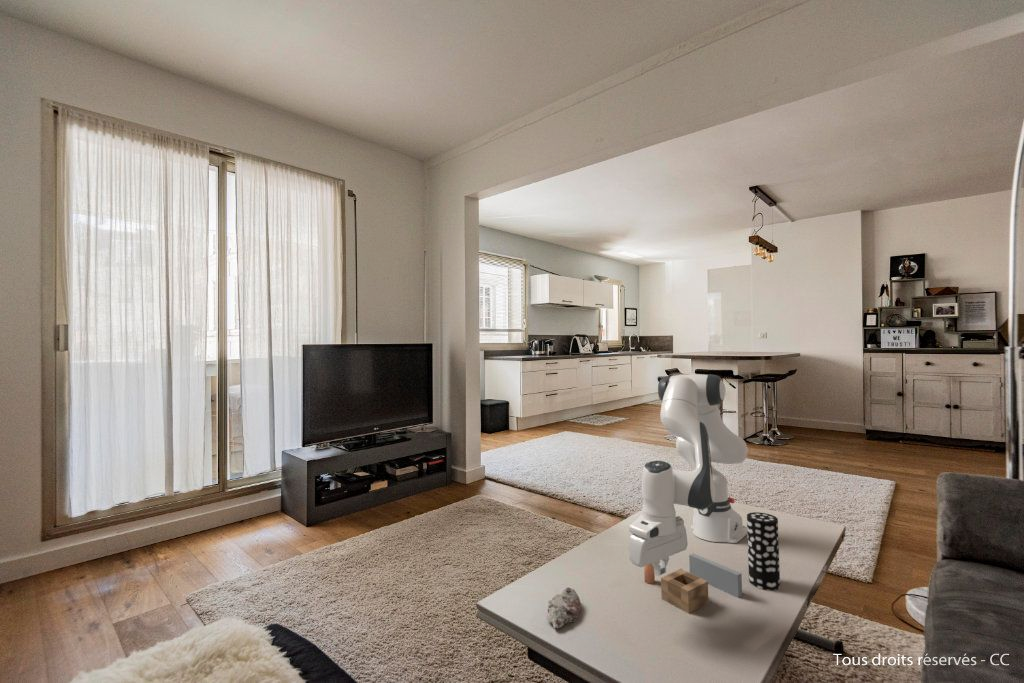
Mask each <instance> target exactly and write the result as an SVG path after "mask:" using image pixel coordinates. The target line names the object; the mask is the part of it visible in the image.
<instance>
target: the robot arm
mask: <svg viewBox="0 0 1024 683" xmlns="http://www.w3.org/2000/svg"><path fill="white" fill-rule="evenodd" d="M726 392H727V391H726V386H725V383H724V380H723V378H722V377H720V376H719V375H717V374H710V373H709V374H704V373H703V374H702V373H701V374H700V373H689V374H679V375H678V374H677V375H672V374H671V375H670V374H669V375H666V376H663V377H662V378H661V379H660V380H659V382H658V386H657V395H658V398H659V400H660V401H661V404H660V405H661V407H660V416H659V418H660V423H661V424H662V426H663V428H664V429H666V431H668V432H669V433H670V434H672V435H673V436H675V437H676V440H675V448H676V452H678V454H679V455H680V456H681V457H682V458H683V459H684V460H685V461H686V462H687V464H688V465H689V466H690V468H691V470H684V469H677V468H673V467H672V465H671V464H670V463H669V462H666V461H663V460H652V461H648V462H646V463H645V464H644V465H643V468H642V469H643V470H642V474H641V497H642V501H643V502H642V504H643V505H642V508H641V514H640V515H639V516H638V517H637V518H636V519H635V520H634V521H632V522H631V523H630V524H629V526H628V530H629V532H630V533H631V535H630V536H629V542H628V543H629V545H628V550H629V551H628V553H629V555H628V556H629V560H630V562H631V563H632V564H633V565H635V566H637V567H639V568H644V566H646V565H649V564H651V563H652V565H653V567H654V574H655V575H656V576H658V577H659V576H662V575H664V574H666V573H667V567H668V564H669V562H670V557H671V556H674V555H675V554H678V553H681V552H684V551H686V550H687V548H688V536H687V528H686V527H685V521H684V519H683V517H681V516H680V515H677V513H676V512H677V511H676V508H675V505H678V506H679V505H680V506H685V507H689V508H693V519H692V523H691V525H690V529H691V530H692V533H693V535H694V536H695V537H697V538H699V539H701V540H704V541H709V542H714V543H729V544H737V543H738V542H740V541H741V540H743V538H745V536H748V534H747V526H745V525H743V524H744V523H743V517H742V516H741V515H740V514H739V513H738V512H737V511H736V510H734V509H733V508H732V505H731V504H735V501H736V500H735V497H731V496H729V495H728V494H729V492H728V488H729V487H728V479H727V478H726V476H725V475H724V474H723V473H722V472H720V471H718V470H717V469H716V468H715V467H714V466H713V464H712V463H717V464H725V465H736V464H742V463H743V462H744V461H745V460H746V459H747V456H748V454H749V453H748V452H749V448H748V445H747V443H746V441H745V440H744V438H742V437H740V436H739V435H737V434H736V433H734V432H732V430H730V429H729V428H728V427H727V425H726V424H725V423H724V421H723V419H722V416H721V412H720V409H719V405H720V404H721V403H722V402H723V401H724V399H725V396H726Z"/></svg>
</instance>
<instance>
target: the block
mask: <svg viewBox="0 0 1024 683" xmlns="http://www.w3.org/2000/svg"><path fill="white" fill-rule="evenodd" d="M660 586H661V588H660V590H661V599H662V600H663V601H665V602H667V603H669V604H671V605H672V606H674V607H676V608H678V609H679V610H682V611H684V612H685V613H687V614H690V613H692V612H694V611H695V610H698V609H699V608H701V607H703V606H706V605H707V604H708V603H709V601H710V600H709V584H708V581H706V580H704V579H702V578H700V577H697V576H695V575H693V574H691V573H690V571H689V572H688V571H686V570H684V569H682V568H679V569H677V570H675V571H672V572H670V573H668V574H666V575H664V576H662V577H660Z"/></svg>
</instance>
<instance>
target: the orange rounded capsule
mask: <svg viewBox="0 0 1024 683" xmlns="http://www.w3.org/2000/svg"><path fill="white" fill-rule="evenodd" d="M643 570H644V573H643V575H644V583H646V584H649V585H653V584H655V581H656V580H655V575H656V574H655V573H654V567H653V565H652V563H651V564H649V565H646V566H644V567H643Z"/></svg>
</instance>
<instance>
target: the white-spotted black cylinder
mask: <svg viewBox="0 0 1024 683" xmlns="http://www.w3.org/2000/svg"><path fill="white" fill-rule="evenodd" d="M746 527H747V555H748V556H747V557H748V558H747V560H748V561H747V562H748V582H749V583H750V584H751V585H752V586H753V587H755V588H758V589H761V590H764V591H776V590H780V588H781V575H780V574H781V571H780V546H779V545H780V542H779V519H778V517H777V516H775V515H773V514H770V513H765V512H755V511H754V512H749V513H747V514H746Z"/></svg>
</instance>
